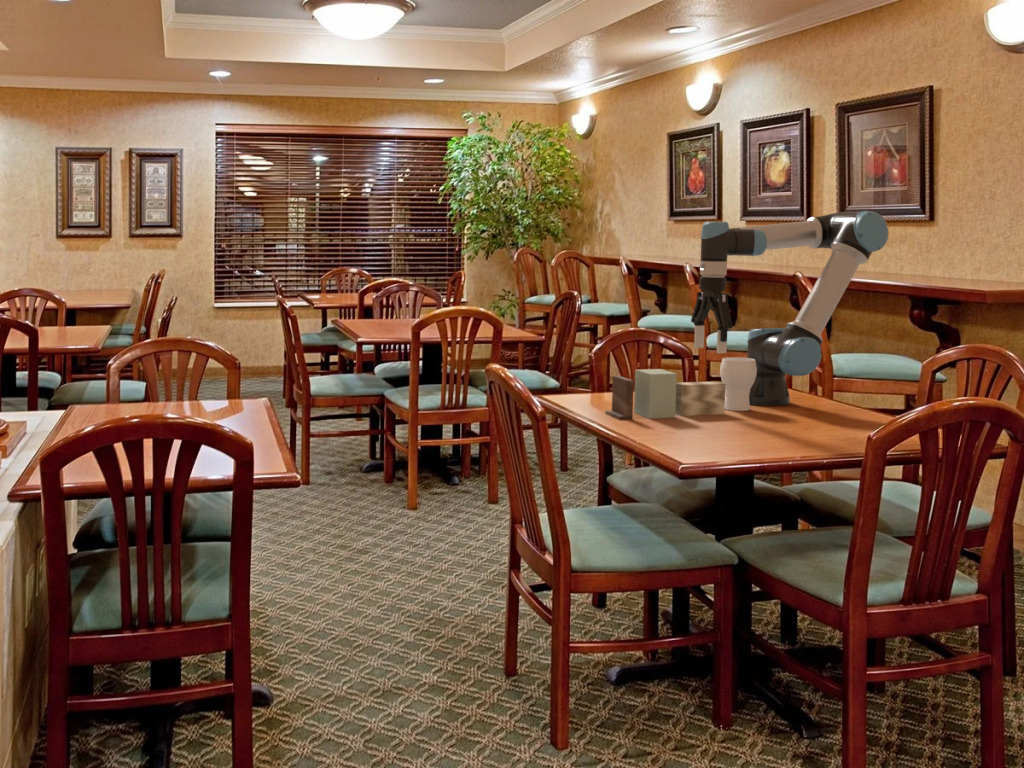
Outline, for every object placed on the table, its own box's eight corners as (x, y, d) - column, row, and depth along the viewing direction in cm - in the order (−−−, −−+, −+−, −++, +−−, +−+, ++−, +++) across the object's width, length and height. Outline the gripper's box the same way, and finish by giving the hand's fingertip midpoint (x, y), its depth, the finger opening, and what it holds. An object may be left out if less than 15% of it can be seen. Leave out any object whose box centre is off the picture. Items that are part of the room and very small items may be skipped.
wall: (618, 413, 306) (619, 375, 304) (632, 419, 296) (633, 380, 295) (605, 414, 304) (606, 376, 303) (619, 420, 295) (620, 380, 293)
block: (659, 411, 310) (660, 368, 308) (675, 417, 300) (676, 373, 298) (633, 412, 307) (635, 369, 305) (649, 418, 297) (650, 374, 296)
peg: (715, 411, 312) (717, 381, 311) (724, 414, 308) (725, 383, 306) (672, 413, 308) (673, 382, 307) (680, 416, 303) (681, 385, 302)
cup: (755, 412, 310) (757, 361, 308) (718, 411, 312) (720, 360, 310) (754, 407, 321) (756, 357, 318) (718, 405, 323) (720, 356, 321)
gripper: (681, 274, 314) (678, 346, 317) (722, 278, 290) (719, 355, 293) (704, 274, 316) (701, 345, 319) (747, 278, 292) (743, 355, 295)
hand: (709, 350), depth 306 cm, fingers open, 13 cm apart
